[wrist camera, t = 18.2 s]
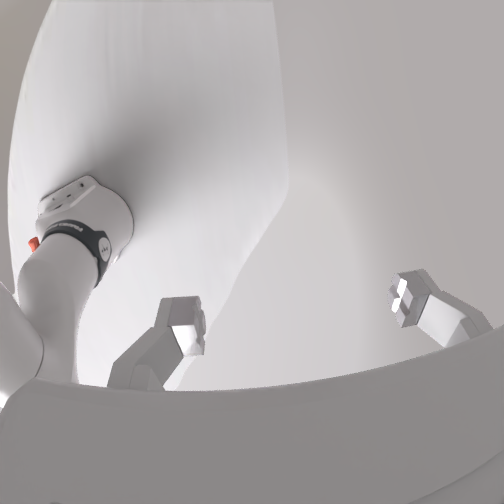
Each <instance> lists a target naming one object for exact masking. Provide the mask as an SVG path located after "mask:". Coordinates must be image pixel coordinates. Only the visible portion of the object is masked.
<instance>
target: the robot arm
mask: <svg viewBox="0 0 504 504" xmlns="http://www.w3.org/2000/svg"><path fill="white" fill-rule="evenodd" d="M82 183H83V185H84V186H82ZM35 228H36V234H37V237H34V238H32V239H31V240H30V241H29V242H28V244H29V246H30V247H31V249H32V252H33V254H32V255H31V256H30V257H29V258H28V260H27V261H26V262H25V263H24V265H23V266H22V268H21V270H20V273H19V276H18V283H17V290H18V298H19V304H20V307H19V306H18V304H17V302H16V301H15V299H14V298H13V296H12V294H11V293H10V292H9V291H8V289H6V287H5V286H4V285H3V284H2V282H1V281H0V406H1V407H2V408H3V409H2V411H1V413H0V504H504V325H502V326H500V327H498V328H495V329H493V328H492V326H491V325H490V323H489V322H488V320H487V319H486V318H485V316H484V315H483V313H482V312H480V311H479V310H477V309H475V308H474V307H472V306H470V305H468V304H467V303H465V302H463V301H461V300H459V299H458V298H456V297H454V296H452V295H450V294H448V293H447V292H445V291H441V290H440V289H439V288H438V286H437V285H436V284H435V283H434V281H433V280H432V278H431V277H430V276H429V274H428V273H427V272H426V271H425V270H424V269H419V270H414V271H409V272H403V273H397V274H394V275H393V277H392V283H393V285H392V286H391V288H390V289H389V292H388V303H389V306H390V308H391V310H393V311H394V312H396V316H395V317H396V319H397V321H398V323H399V325H400V327H401V328H403V327H407V326H412V325H417V326H418V327H419V328H421V329H422V330H423V331H424V332H426V333H427V334H428V335H429V336H431V337H432V338H433V339H434V340H436V341H437V342H438V343H439V344H441V345H442V346H443V347H444V349H441V350H439V351H436V352H432V353H429V354H426V355H423V356H420V357H416V358H413V359H410V360H406V361H403V362H399V363H395V364H392V365H388V366H384V367H380V368H376V369H371V370H367V371H363V372H358V373H354V374H349V375H344V376H339V377H333V378H327V379H322V380H315V381H309V382H302V383H295V384H287V385H279V386H271V387H260V388H249V389H234V390H215V391H165V389H164V388H163V385H164V383H165V382H166V381H167V379H168V378H169V377H170V375H171V374H172V373H173V371H174V370H175V368H176V367H177V366H178V364H179V363H180V362H181V360H182V359H183V358H184V357H183V356H196V355H204V345H205V341H204V338H203V335H204V334H205V332H206V323H205V316H204V312H203V310H201V301H200V298H199V296H188V297H172V298H162V300H161V301H160V305H159V309H158V313H157V317H156V321H155V325H154V327H151V328H150V329H148V330H147V331H146V332H145V333H144V334H143V335H142V336H141V337H140V338H139V339H138V340H137V341H136V342H135V343H134V344H133V345H132V346H131V347H130V348H128V349H127V350H126V351H125V352H124V353H123V354H122V355H121V356H120V357H119V358H118V359H117V360H116V361H115V362H114V363H113V366H112V370H111V373H110V377H109V380H108V384H107V387H98V386H89V385H82V384H79V380H78V374H77V363H76V352H77V335H78V328H79V322H80V318H81V315H82V312H83V309H84V307H85V305H86V303H87V300H88V298H89V296H90V294H91V292H92V290H93V289H94V288H95V287H96V286H97V285H98V283H99V282H100V281H101V279H102V277H103V275H104V273H105V272H106V271H107V269H108V268H109V267H110V265H111V264H112V263H115V262H116V261H117V260H118V258H119V255H120V252H121V250H122V249H123V248H124V247H125V246H126V245H127V244H128V242H129V241H130V239H131V237H132V233H133V218H132V215H131V212H130V210H129V208H128V206H127V204H126V203H125V202H124V200H123V199H122V198H121V197H120V196H119V195H117V194H116V193H115V192H113V191H112V190H110V189H107V188H105V187H103V186H101V185H99V183H98V182H97V181H96V180H95V179H94V178H92V177H91V176H89V175H86V176H84V177H82V178H80V179H78V180H76V181H74V182H72V183H70V184H69V185H67V186H65V187H63V188H61V189H60V190H58V191H56V192H54V193H53V194H51V195H49V196H48V197H46V198H44V199H43V200H41V201H40V202H39V204H38V219H37V220H36V225H35Z"/></svg>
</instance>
